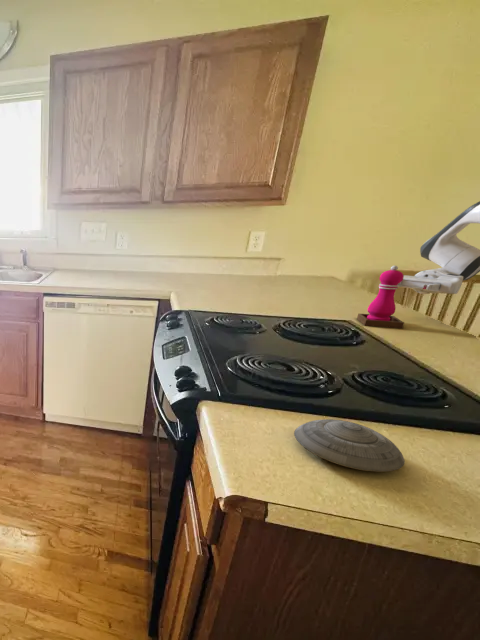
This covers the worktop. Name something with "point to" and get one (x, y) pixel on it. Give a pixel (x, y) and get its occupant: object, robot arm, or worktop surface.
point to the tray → (380, 322)
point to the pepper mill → (385, 295)
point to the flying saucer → (349, 445)
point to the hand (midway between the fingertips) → (408, 285)
